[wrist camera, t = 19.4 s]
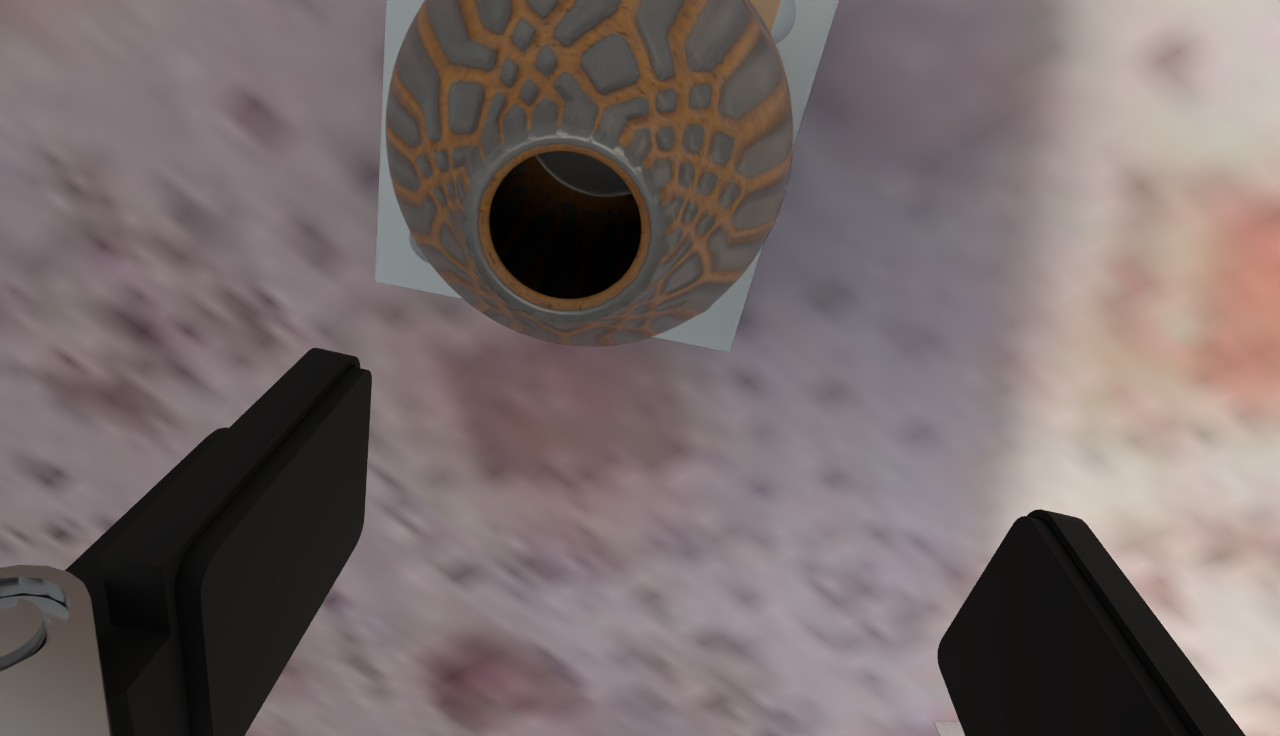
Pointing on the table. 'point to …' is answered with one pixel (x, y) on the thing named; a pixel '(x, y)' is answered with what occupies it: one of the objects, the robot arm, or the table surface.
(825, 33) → the build plate
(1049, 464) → the table surface
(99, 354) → the table surface
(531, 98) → the vase
